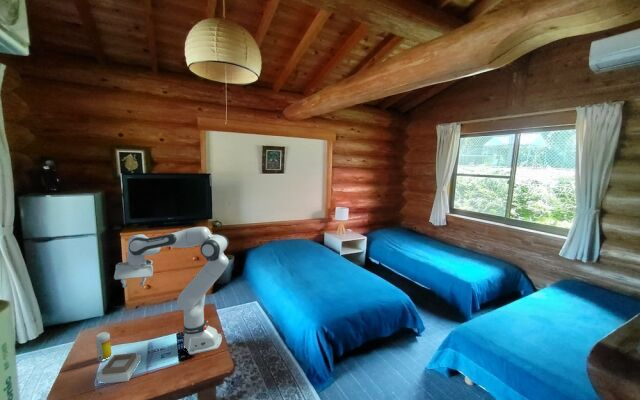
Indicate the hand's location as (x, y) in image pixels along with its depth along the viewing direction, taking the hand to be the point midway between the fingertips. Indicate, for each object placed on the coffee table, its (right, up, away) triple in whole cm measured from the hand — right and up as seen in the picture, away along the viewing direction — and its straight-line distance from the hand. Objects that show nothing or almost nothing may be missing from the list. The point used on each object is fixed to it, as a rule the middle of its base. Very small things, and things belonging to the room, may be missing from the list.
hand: (133, 286), depth 158 cm
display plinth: (+1, -42, -12) cm, 44 cm away
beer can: (-14, -41, -3) cm, 43 cm away
